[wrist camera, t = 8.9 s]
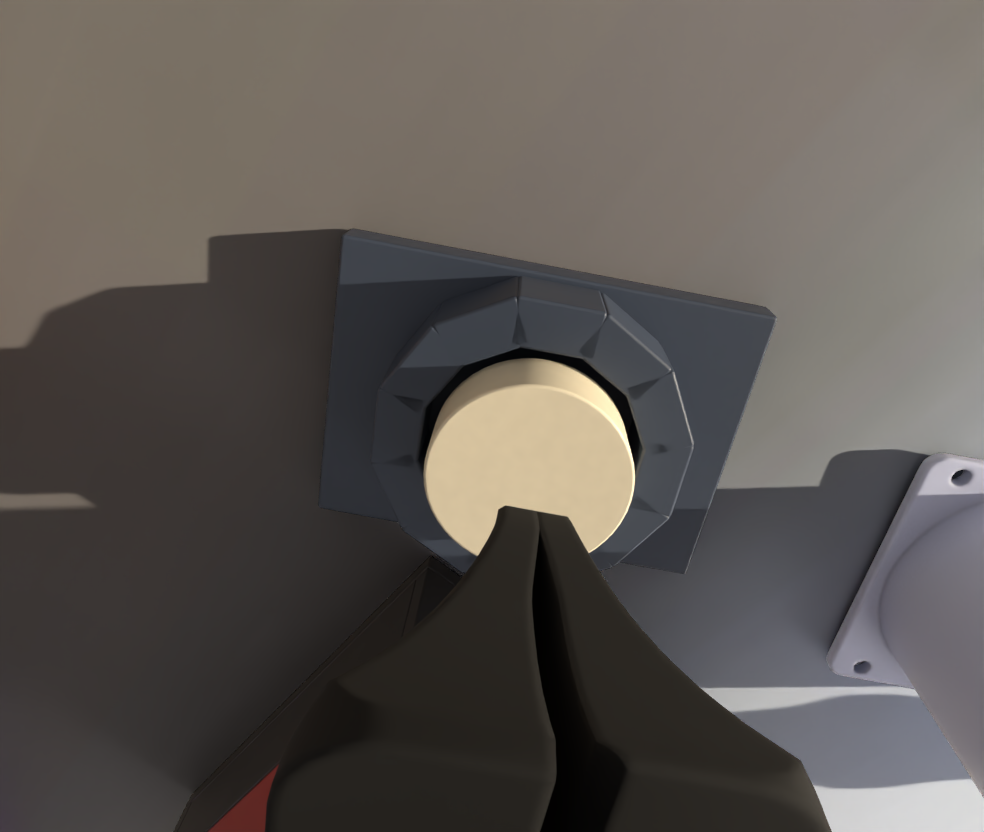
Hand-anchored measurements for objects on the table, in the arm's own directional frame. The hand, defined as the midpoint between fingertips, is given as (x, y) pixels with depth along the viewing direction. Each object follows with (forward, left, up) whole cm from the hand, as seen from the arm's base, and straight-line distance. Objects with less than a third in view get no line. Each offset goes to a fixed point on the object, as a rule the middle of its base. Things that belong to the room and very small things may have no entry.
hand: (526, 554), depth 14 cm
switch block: (0, 0, -7) cm, 7 cm away
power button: (0, 0, -4) cm, 4 cm away
